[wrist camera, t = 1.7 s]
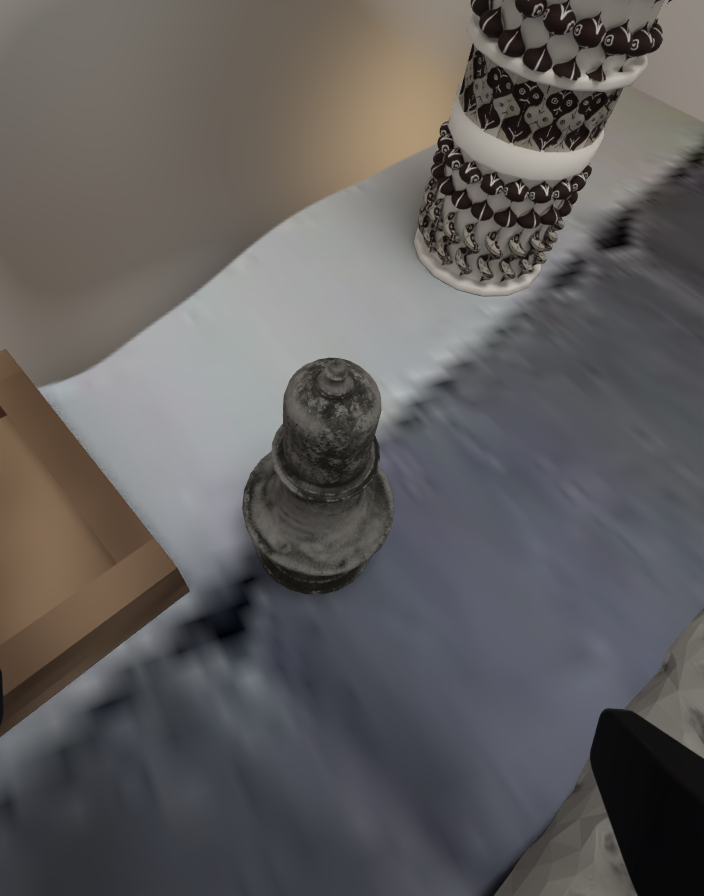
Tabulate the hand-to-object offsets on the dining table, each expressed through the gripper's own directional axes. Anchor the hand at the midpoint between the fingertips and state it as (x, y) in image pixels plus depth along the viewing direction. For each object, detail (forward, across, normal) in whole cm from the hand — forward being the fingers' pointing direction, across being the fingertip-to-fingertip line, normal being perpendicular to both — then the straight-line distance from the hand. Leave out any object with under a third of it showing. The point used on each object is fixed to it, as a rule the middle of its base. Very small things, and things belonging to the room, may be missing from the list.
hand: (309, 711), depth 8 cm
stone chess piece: (+16, 0, +4) cm, 16 cm away
